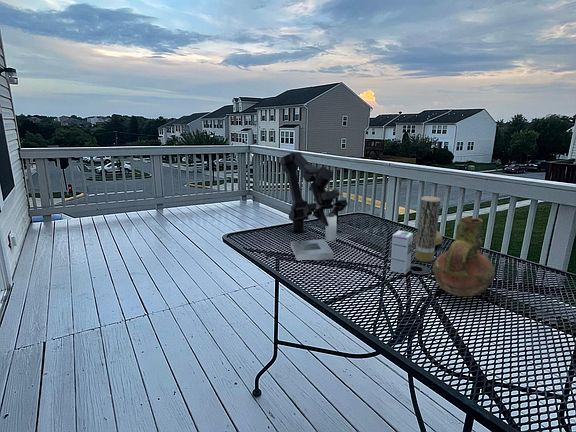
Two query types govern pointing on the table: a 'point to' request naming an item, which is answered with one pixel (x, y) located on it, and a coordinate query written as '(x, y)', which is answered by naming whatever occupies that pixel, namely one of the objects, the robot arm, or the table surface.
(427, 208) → the paper tube
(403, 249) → the syrup box
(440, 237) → the bread roll
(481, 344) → the table surface
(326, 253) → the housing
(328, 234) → the plug
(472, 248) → the ceramic vessel
